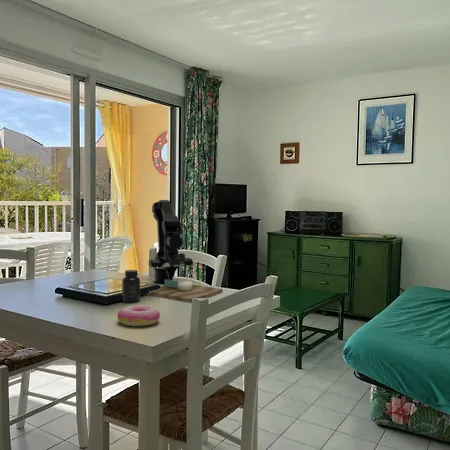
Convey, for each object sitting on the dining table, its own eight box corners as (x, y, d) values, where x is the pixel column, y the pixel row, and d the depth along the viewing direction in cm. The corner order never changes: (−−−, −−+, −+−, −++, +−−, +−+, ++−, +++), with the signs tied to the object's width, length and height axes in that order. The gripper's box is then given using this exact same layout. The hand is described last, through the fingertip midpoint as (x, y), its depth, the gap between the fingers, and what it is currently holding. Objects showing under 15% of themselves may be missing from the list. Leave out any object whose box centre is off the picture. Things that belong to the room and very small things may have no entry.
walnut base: (144, 294, 190) (144, 290, 189) (177, 285, 210) (178, 281, 210) (192, 303, 178) (192, 298, 178) (222, 292, 199) (222, 288, 199)
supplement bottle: (141, 299, 181) (142, 269, 180) (136, 303, 174) (137, 272, 173) (125, 298, 181) (125, 268, 181) (119, 302, 175) (120, 271, 174)
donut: (167, 323, 150) (168, 308, 150) (135, 331, 140) (135, 316, 140) (142, 315, 159) (142, 301, 158) (110, 322, 149) (110, 307, 149)
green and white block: (194, 288, 195) (194, 281, 195) (186, 291, 190) (187, 283, 190) (169, 285, 201) (169, 278, 201) (161, 287, 196) (161, 280, 196)
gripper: (154, 249, 188) (154, 286, 188) (196, 247, 195) (196, 283, 196) (148, 246, 198) (148, 281, 199) (189, 245, 205) (188, 279, 206)
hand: (170, 281), depth 199 cm, fingers closed
